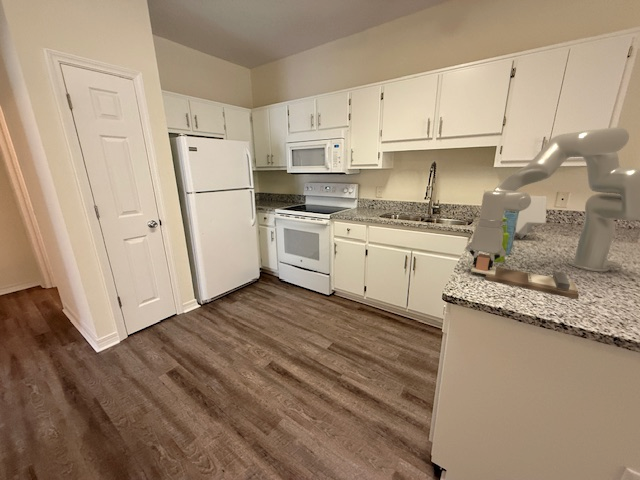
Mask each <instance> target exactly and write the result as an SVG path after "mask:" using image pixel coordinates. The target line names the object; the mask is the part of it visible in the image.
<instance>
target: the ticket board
mask: <svg viewBox="0 0 640 480" xmlns="http://www.w3.org/2000/svg"><path fill="white" fill-rule="evenodd" d="M495 267H496V272H495V276H492V275H487V274H485V281H490V282H493V283H494V282H495V283H499V284H503V285H507V286H508V285H509V286H514V287H518V288H522V289H526V290H528V289H529V290H531V291H537V292H541V293H547V294H551V295H552V294H553V295H555V296H557V295H558V296H561V297H566V298H571V299H576V300H578V299H579V296H580V294H579V289H578V288H577V285H576V284H575V282H574V280H571V279H569V278H568V277H567V275H566V273H565V272H559V271H553V274H552V276H549V275H548V276H547V275H542V274H537V273H531V272H528V271H527V272H525V271H520V270H515V269H510V268H509V269H508V268H504V267H498V266H495Z"/></svg>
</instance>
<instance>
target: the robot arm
mask: <svg viewBox="0 0 640 480" xmlns="http://www.w3.org/2000/svg"><path fill="white" fill-rule="evenodd" d="M629 139H630V134H629V132H628V131H627V129H625V128H623V127H620V126H619V127H608V128H601V129H589V130H582V131H577V132H568V133H561V134H558V135H556V136H554V137H552V138H551V139H550V140H549V141H548V142H547V143H546V144H545V145H544V147H542V149H541V150H540V151H539V152H538V153H537V154H536V155H535V156H534V158H533V159H532V160H531V161H530V162H529V163H528V164H527V165H526V166H523V167H522V168H519V169H518V170H516V171H514V172H513V173H512V174H510V175H508V176H507V177H505V178H504V179H503V180H502V181H501V182H500V183H498V185H497V186H496V187H495V188H494V189H493V190H492V191H491V190H490V191H485V192H484V193H483V195H482V200H481V201H482V202H481V208H480V214H479V219H478V224H477V225H475V227H474V231H473V235H472V239H471V241H470V243H468V244H467V245H466V247H465V248H464V249H465V250H466V251H467V252H469V254H471V256H472V257H473V262H472V265H475V266H474V267H476V264H477V258H478V255H479V253H480V252H482V253H489V254H490V253H491V258H490V260H489V265H488V270H490V268H492V266H493V265H494V260H495V259H497V258H499V257H502V256H505V257H506V256H507V255H506V252H505V250H504V248H503V247H502V241H503V228H502V227H501V226H506V223H507V222H503V221H502V219H503V214H504V211H505V210H508V211H522V210H525V209H526V208H528V207H529V205H530V204H531V197H530V196H531V195H529V194H528V193H527V192H525V191H521V190H520V191H519V190H518V189H520V188H523V187H525V186H527V185H530V184H534V183H538V182H541V181H544V180H547V179H549V178H551V177H552V176H553V174H554V173H555V172H556V171H557V170H558V169H559V168H560V167H561V166H562V164H563V163H564V162H565V161H566V160H568V159H569V158H583V159H584V160H585V163H586V170H587V182H588V188H589V190H591V191H592V192H595V194H594V195H591V196H590V197H588V199H587V200H586V202H585V206H584V209H585V210H584V220H583V224H582V228H581V233H580V236H579V240H578V244H577V246H576V251H575V253H574V254H575V255H574V258H573V259H568V264H569V266H571V267H574V268H578V269H581V270H585V271H590V272H598V273H599V272H600V273H601V272H609V269H610V268H611V267H612V268H618V269H622V268H623V263H621V262H619V263H618V262H616V261H611V260H609V259H608V255H609V252H610V249H611V246H612V242H613V239H614V236H615V234H616V224H615V222H614V220H613V219H615V220H620V221H627V222H633V221H634V222H635V221H639V220H640V168H638V167H621V166H620V161H619V153H618V152H619V151H621V150H622V149H624V147H626V145H627V144H628V143H629ZM500 251H501V253H500ZM497 253H499V254H497ZM495 254H496V255H495Z"/></svg>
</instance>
